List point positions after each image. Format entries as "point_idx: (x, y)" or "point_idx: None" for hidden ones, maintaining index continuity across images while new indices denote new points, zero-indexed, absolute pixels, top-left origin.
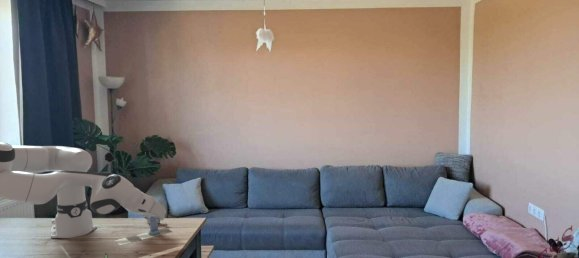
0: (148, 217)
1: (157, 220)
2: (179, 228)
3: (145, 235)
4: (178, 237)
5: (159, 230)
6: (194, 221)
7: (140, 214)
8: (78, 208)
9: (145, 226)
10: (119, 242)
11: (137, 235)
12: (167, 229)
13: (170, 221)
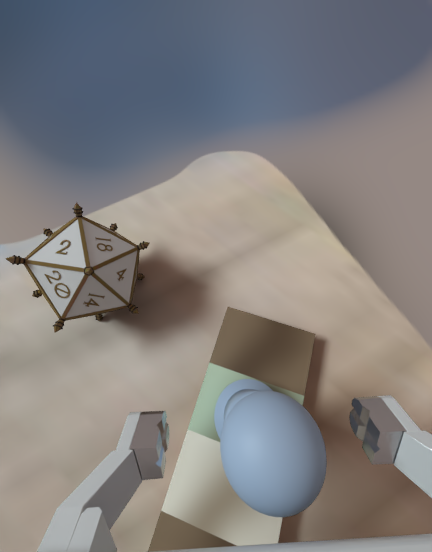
0: (79, 312)
1: (134, 283)
2: (266, 262)
3: (225, 476)
4: (376, 353)
5: (270, 389)
6: (251, 177)
7: (112, 516)
8: None
9: (80, 326)
10: None
11: (175, 510)
12: (259, 323)
13: (152, 221)
